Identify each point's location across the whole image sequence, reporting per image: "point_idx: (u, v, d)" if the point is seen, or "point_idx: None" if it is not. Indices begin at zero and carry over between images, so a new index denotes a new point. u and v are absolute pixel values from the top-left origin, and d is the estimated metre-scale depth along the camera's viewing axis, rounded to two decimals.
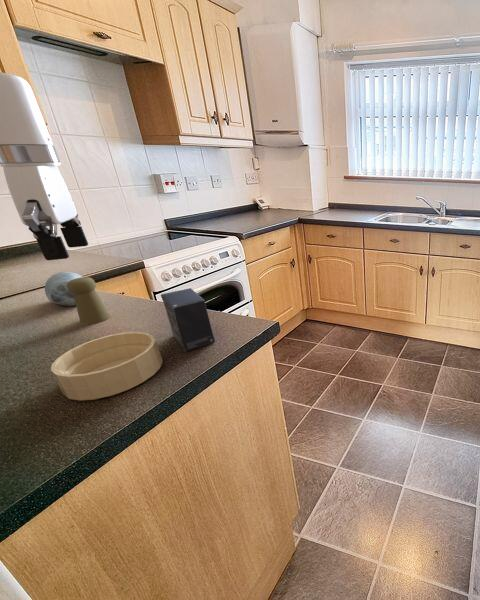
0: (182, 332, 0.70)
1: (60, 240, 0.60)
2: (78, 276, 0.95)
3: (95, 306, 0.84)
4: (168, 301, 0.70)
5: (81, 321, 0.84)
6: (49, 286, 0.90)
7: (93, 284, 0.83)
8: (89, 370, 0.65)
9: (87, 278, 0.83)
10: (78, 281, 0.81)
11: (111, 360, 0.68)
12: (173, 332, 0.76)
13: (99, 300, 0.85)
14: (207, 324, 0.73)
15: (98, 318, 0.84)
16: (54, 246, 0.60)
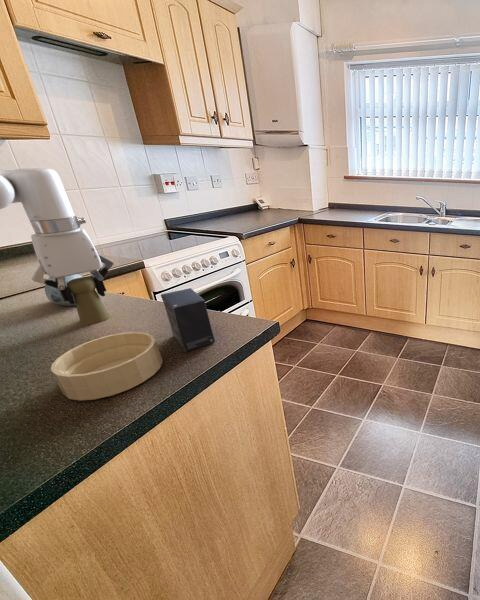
0: (182, 332, 0.70)
1: (66, 292, 0.79)
2: (78, 276, 0.95)
3: (95, 306, 0.84)
4: (168, 301, 0.70)
5: (81, 321, 0.84)
6: (49, 286, 0.90)
7: (93, 284, 0.83)
8: (89, 370, 0.65)
9: (87, 278, 0.83)
10: (78, 281, 0.81)
11: (111, 360, 0.68)
12: (173, 332, 0.76)
13: (99, 300, 0.85)
14: (207, 324, 0.73)
15: (98, 318, 0.84)
16: (62, 295, 0.80)
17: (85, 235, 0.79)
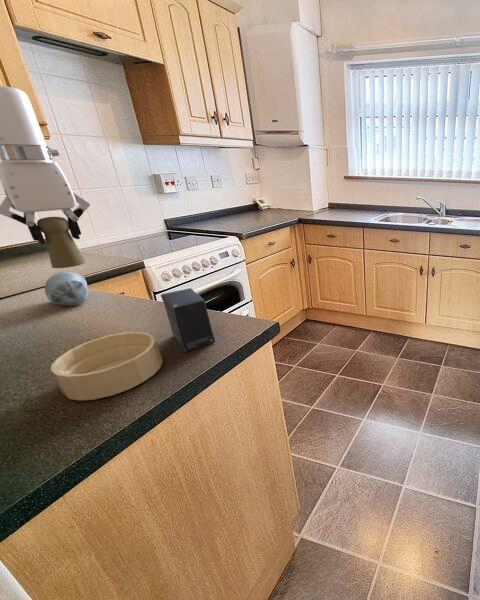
0: (182, 332, 0.70)
1: (35, 229, 0.73)
2: (78, 276, 0.95)
3: (68, 249, 0.77)
4: (168, 301, 0.70)
5: (52, 264, 0.77)
6: (49, 286, 0.90)
7: (67, 225, 0.77)
8: (89, 370, 0.65)
9: (60, 217, 0.76)
10: (49, 219, 0.74)
11: (111, 360, 0.68)
12: (173, 332, 0.76)
13: (73, 243, 0.78)
14: (207, 324, 0.73)
15: (71, 262, 0.78)
16: (31, 233, 0.73)
17: (58, 168, 0.73)
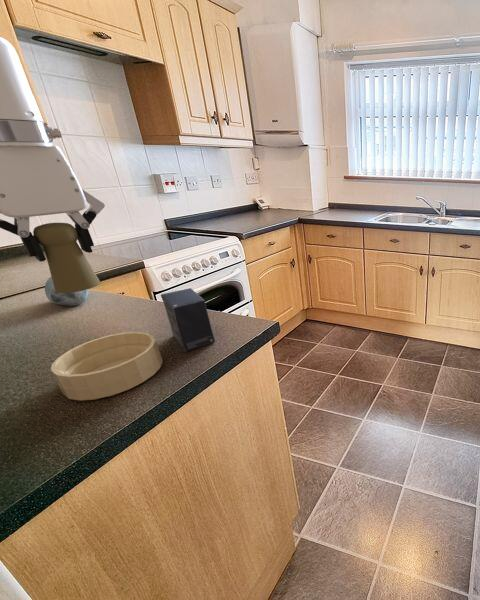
0: (182, 332, 0.70)
1: (31, 241, 0.52)
2: None
3: (77, 266, 0.56)
4: (168, 301, 0.70)
5: (56, 288, 0.56)
6: (49, 286, 0.90)
7: (74, 233, 0.56)
8: (89, 370, 0.65)
9: (65, 223, 0.55)
10: (50, 226, 0.53)
11: (111, 360, 0.68)
12: (173, 332, 0.76)
13: (83, 258, 0.57)
14: (207, 324, 0.73)
15: (82, 284, 0.57)
16: (26, 246, 0.52)
17: (60, 155, 0.52)
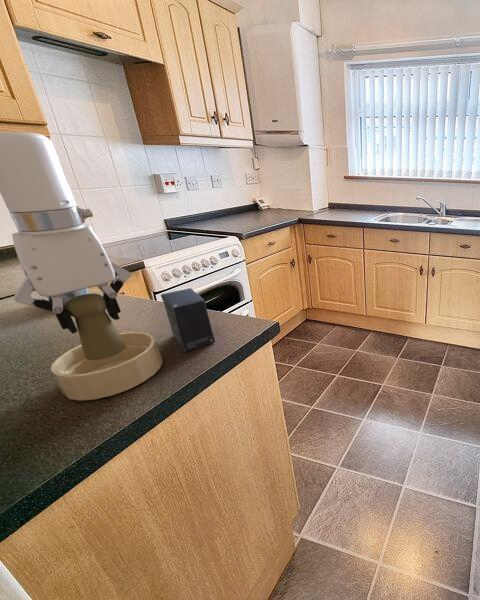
0: (182, 332, 0.70)
1: (64, 316, 0.55)
2: None
3: (105, 335, 0.59)
4: (168, 301, 0.70)
5: (86, 356, 0.59)
6: None
7: (103, 304, 0.59)
8: (89, 370, 0.65)
9: (94, 295, 0.58)
10: (82, 300, 0.56)
11: (111, 360, 0.68)
12: (173, 332, 0.76)
13: (111, 325, 0.60)
14: (207, 324, 0.73)
15: (110, 351, 0.60)
16: (59, 321, 0.55)
17: (92, 234, 0.55)
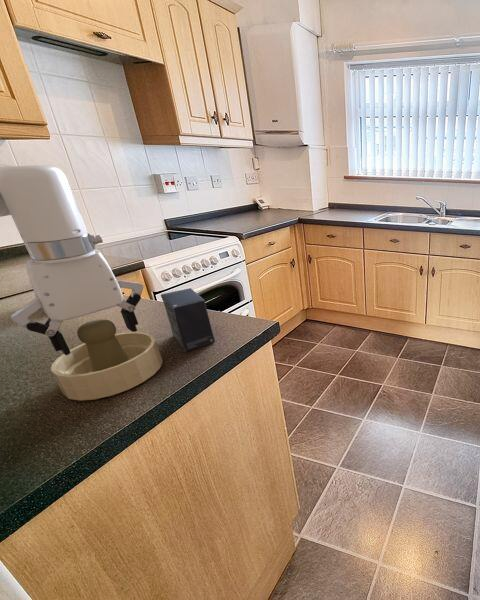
0: (182, 332, 0.70)
1: (57, 338, 0.55)
2: None
3: (115, 359, 0.61)
4: (168, 301, 0.70)
5: None
6: None
7: (113, 330, 0.61)
8: (89, 370, 0.65)
9: (105, 321, 0.60)
10: (93, 327, 0.58)
11: None
12: (173, 332, 0.76)
13: (120, 350, 0.62)
14: (207, 324, 0.73)
15: None
16: (52, 343, 0.55)
17: (102, 260, 0.57)
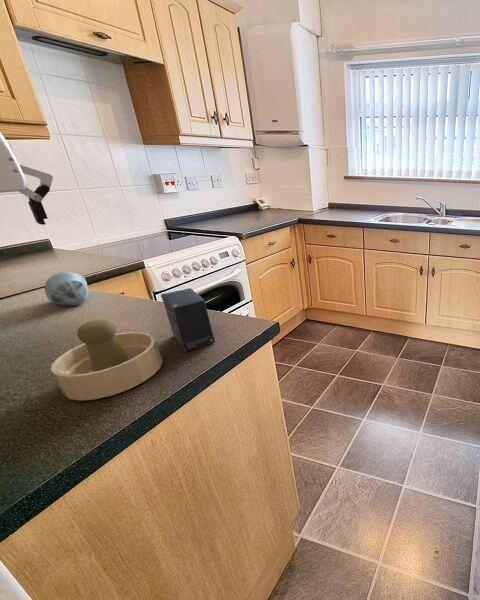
0: (182, 332, 0.70)
1: None
2: (78, 276, 0.95)
3: (115, 359, 0.61)
4: (168, 301, 0.70)
5: None
6: (49, 286, 0.90)
7: (113, 330, 0.61)
8: (89, 370, 0.65)
9: (105, 321, 0.60)
10: (93, 327, 0.58)
11: None
12: (173, 332, 0.76)
13: (120, 350, 0.62)
14: (207, 324, 0.73)
15: None
16: None
17: None
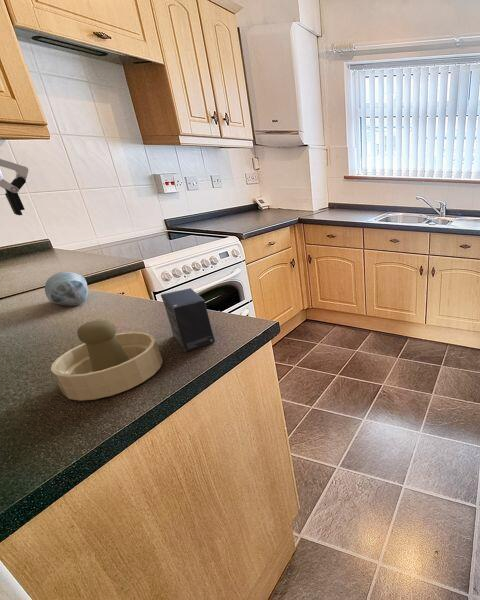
0: (182, 332, 0.70)
1: None
2: (78, 276, 0.95)
3: (115, 359, 0.61)
4: (168, 301, 0.70)
5: None
6: (49, 286, 0.90)
7: (113, 330, 0.61)
8: (89, 370, 0.65)
9: (105, 321, 0.60)
10: (93, 327, 0.58)
11: None
12: (173, 332, 0.76)
13: (120, 350, 0.62)
14: (207, 324, 0.73)
15: None
16: None
17: None
